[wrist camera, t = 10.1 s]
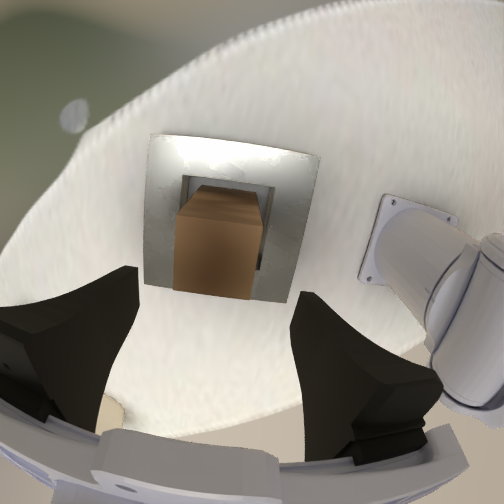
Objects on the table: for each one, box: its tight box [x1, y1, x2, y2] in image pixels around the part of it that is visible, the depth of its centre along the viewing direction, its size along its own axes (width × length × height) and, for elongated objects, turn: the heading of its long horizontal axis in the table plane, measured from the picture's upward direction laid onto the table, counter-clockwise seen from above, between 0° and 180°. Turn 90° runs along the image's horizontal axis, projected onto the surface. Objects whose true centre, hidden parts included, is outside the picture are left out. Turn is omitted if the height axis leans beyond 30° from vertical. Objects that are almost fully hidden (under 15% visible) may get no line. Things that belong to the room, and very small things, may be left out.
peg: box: [173, 185, 263, 300], centre depth 17 cm, size 4×4×8 cm
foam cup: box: [95, 394, 124, 436], centre depth 25 cm, size 10×9×13 cm
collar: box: [143, 134, 320, 303], centre depth 19 cm, size 11×11×2 cm
